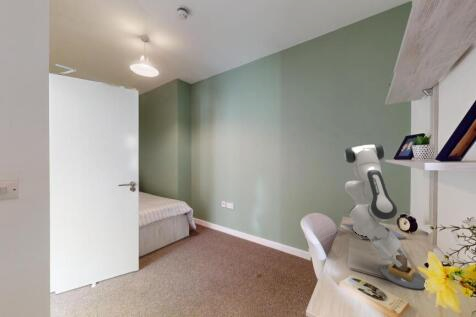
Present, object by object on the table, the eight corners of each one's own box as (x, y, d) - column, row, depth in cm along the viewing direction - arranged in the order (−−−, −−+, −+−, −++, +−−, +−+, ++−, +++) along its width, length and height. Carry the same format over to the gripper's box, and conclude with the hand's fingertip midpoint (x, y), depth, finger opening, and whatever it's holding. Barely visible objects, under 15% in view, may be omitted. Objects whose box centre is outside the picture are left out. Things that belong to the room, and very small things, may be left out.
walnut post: (397, 270, 88) (397, 254, 88) (408, 274, 85) (408, 257, 85) (395, 273, 86) (394, 256, 86) (406, 278, 82) (406, 260, 82)
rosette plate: (386, 263, 96) (386, 255, 96) (429, 279, 83) (429, 269, 83) (375, 275, 87) (375, 266, 87) (422, 295, 74) (422, 284, 74)
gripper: (375, 237, 85) (403, 268, 77) (389, 226, 97) (414, 252, 89) (364, 243, 88) (390, 273, 80) (379, 232, 100) (403, 257, 92)
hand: (403, 262), depth 85 cm, fingers open, 8 cm apart
